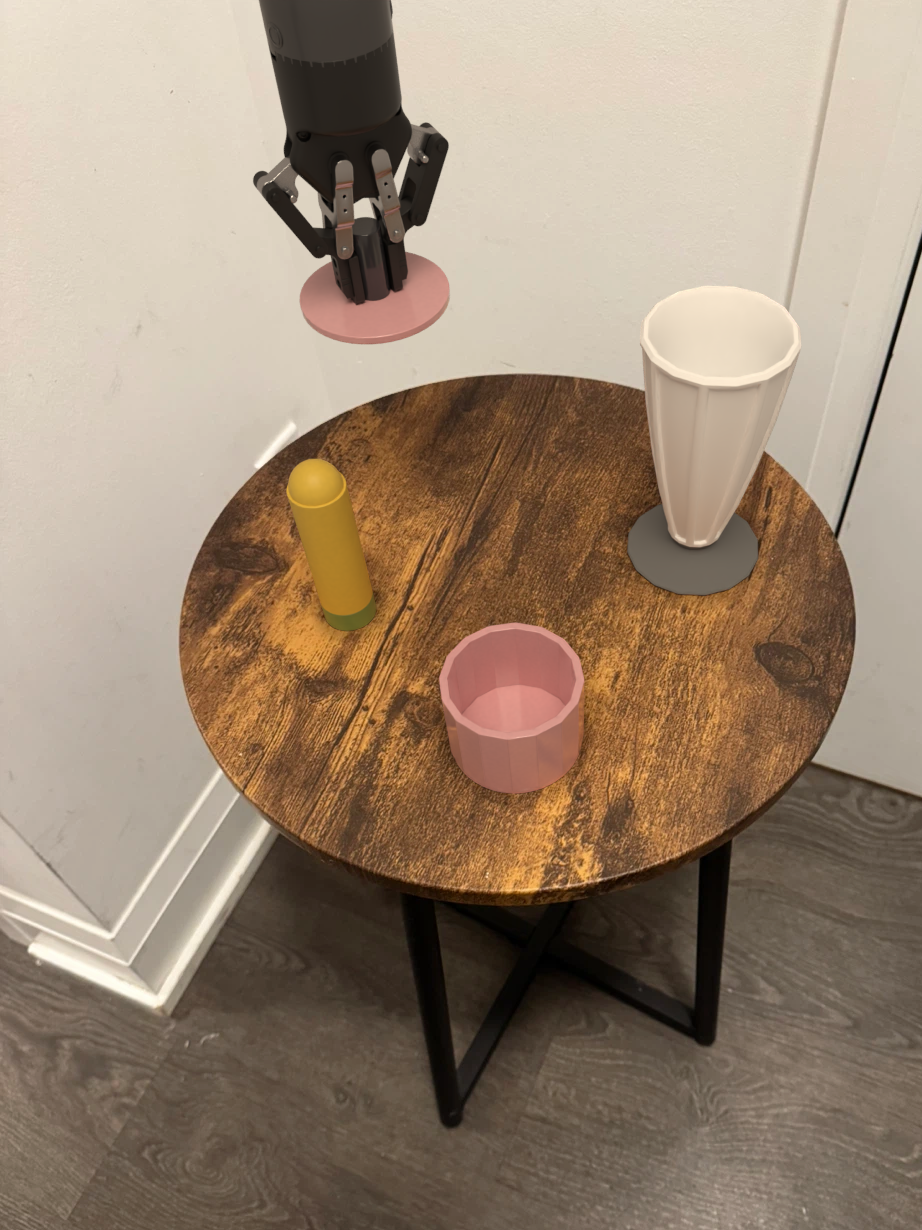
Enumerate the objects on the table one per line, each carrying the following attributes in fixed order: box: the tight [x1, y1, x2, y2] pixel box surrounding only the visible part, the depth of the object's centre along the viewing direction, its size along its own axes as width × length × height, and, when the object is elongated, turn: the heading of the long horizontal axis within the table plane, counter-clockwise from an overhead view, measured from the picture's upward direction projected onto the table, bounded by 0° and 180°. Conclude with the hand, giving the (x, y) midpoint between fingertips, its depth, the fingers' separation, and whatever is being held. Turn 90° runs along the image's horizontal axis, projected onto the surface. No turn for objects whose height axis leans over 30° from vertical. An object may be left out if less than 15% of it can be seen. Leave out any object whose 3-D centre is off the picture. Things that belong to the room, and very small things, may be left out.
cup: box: [626, 285, 802, 596], centre depth 82 cm, size 12×12×22 cm
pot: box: [438, 622, 585, 794], centre depth 77 cm, size 10×10×8 cm
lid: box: [299, 216, 451, 345], centre depth 74 cm, size 11×11×6 cm
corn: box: [285, 458, 377, 632], centre depth 81 cm, size 4×4×16 cm
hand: (374, 290), depth 76 cm, fingers closed on lid, 2 cm apart
